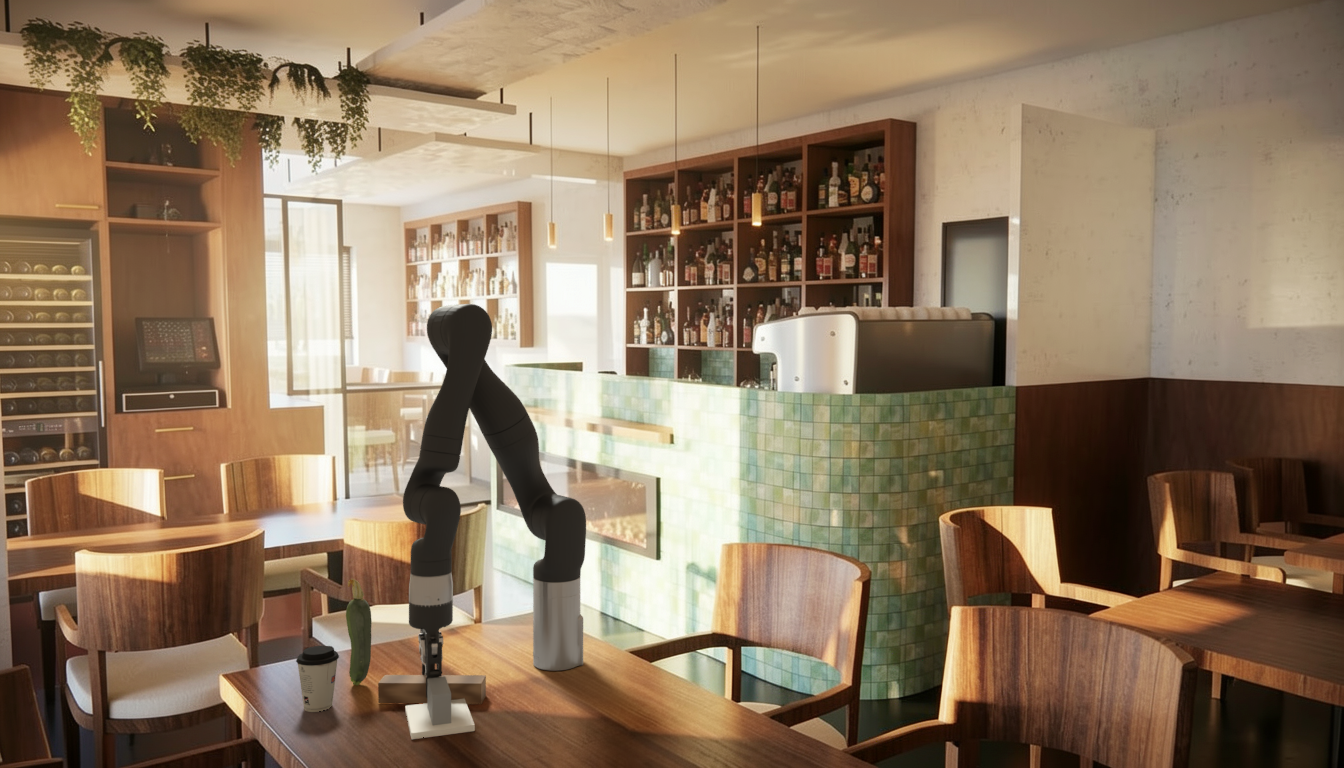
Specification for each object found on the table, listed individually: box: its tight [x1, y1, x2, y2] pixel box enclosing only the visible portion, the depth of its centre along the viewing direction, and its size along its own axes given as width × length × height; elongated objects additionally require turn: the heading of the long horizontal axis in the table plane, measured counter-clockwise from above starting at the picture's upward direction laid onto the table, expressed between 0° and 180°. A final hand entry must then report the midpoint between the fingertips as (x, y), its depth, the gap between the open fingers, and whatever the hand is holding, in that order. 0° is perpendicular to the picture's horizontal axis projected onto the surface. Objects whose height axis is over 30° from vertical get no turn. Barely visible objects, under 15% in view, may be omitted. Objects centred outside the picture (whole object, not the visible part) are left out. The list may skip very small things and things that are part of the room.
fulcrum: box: [404, 677, 476, 740], centre depth 158 cm, size 10×12×6 cm
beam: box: [377, 674, 487, 705], centre depth 168 cm, size 18×4×4 cm, turn 90°
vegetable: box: [345, 578, 372, 686], centre depth 173 cm, size 4×4×20 cm
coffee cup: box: [295, 645, 340, 713], centre depth 164 cm, size 7×7×10 cm
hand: (430, 689), depth 168 cm, fingers open, 7 cm apart
